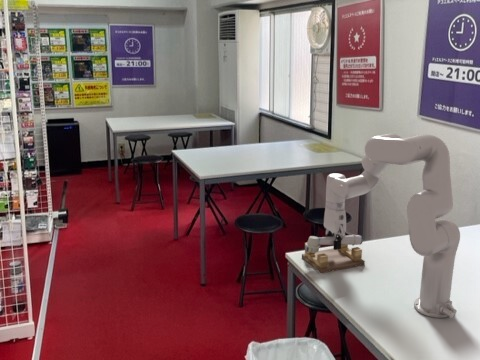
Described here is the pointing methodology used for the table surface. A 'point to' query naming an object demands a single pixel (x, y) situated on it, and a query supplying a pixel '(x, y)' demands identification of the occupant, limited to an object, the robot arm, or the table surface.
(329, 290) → the table surface
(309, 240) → the electric toothbrush handle
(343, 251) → the rack
